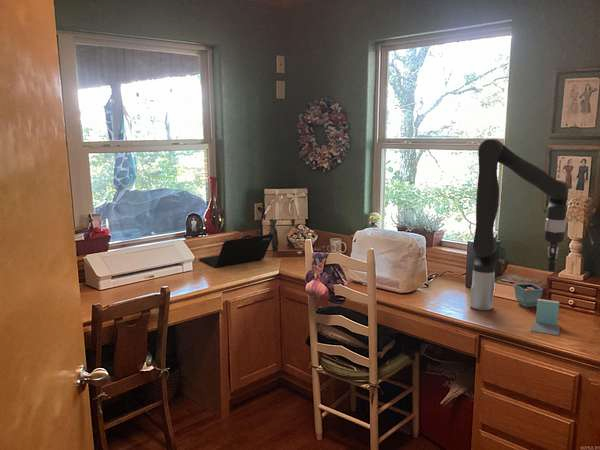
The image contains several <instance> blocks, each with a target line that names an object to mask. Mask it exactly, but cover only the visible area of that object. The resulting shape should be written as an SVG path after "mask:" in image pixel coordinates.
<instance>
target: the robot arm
mask: <svg viewBox="0 0 600 450" xmlns="http://www.w3.org/2000/svg"><path fill="white" fill-rule="evenodd" d="M477 154H478V155H477V156H478V177H477V186H476V199H475V201H476V202H475V204H476V205H475V229H474V238H473V243H472V249H473V252H474V253H475V256H474V261H473V265H472V277H471V278H472V281H471V282H472V283H471V287H470V299H469V307H470V308H473V309H475V310H479V311H490V310H492V309H493V307H494V305H493V304H494V303H493V302H494V290H495V289H494V288H495V276H496V275H495V272H496V266H497V257H498V249H499V247H498V245H499V244H498V240H497V238H496V237H495V236H494V225H495V221H496V219H497V215H498V214H497V213H498V209H499V203H500V202H499V201H500V186H499V180H498V164H500V165H503V166H505V167H507V168H508V169H509V170H511V171H512V172H513V173H515V174H516V175H518V177H520V178H522V179H523V180H524V181H525V182H527V183H529V184H531V185H532V186H533V187H536V188H538V189H539V190H540V191H541V192H543V194H545V195H547V197H548V206H547V209H546V218H545V225H544V237H543V239H544V241H545V242H548V243H549V242H550V244H548V245H547V250H548V252H547V256H548V260H547V261H548V269H547V270H548V271H549V272H555V268H556V262H557V260H556V259H557V258H558V255H559V250H560V249H559V248H560V245H559V243H563V242H565V238H566V237H565V235H566V228H567V227H566V225H567V223H566V218H567V203H568V199H569V188H570V187H569V186H568V184H567V183H566V182H565V181H563V180H558V179H555V178H554V177H553V176H551V175H549V173H548V172H546V171H545V170H543V169H542V168H540V167H538V166H536V165H534V164H533V163H531V162H529V161H528V160H526V159H524V158H522V157H520V156H519V155H518V154H516V153H514V152H513V151H512V150H511V149H509V148H508V147H507V146H506V145H504V143H502V142H501V141H500V140H499V139H498V138H486V139H484V140H483V141H482V142H480V143H479V145H478V148H477Z"/></svg>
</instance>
